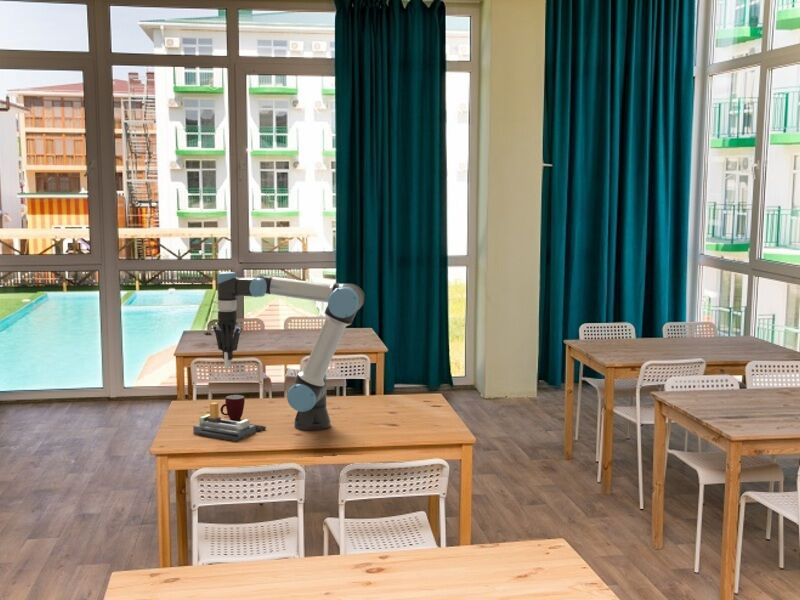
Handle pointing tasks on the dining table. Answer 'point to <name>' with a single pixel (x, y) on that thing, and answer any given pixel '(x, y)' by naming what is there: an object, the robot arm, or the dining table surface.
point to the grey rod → (258, 428)
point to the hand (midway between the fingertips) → (227, 367)
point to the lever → (214, 413)
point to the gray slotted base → (226, 427)
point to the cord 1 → (218, 435)
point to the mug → (234, 406)
